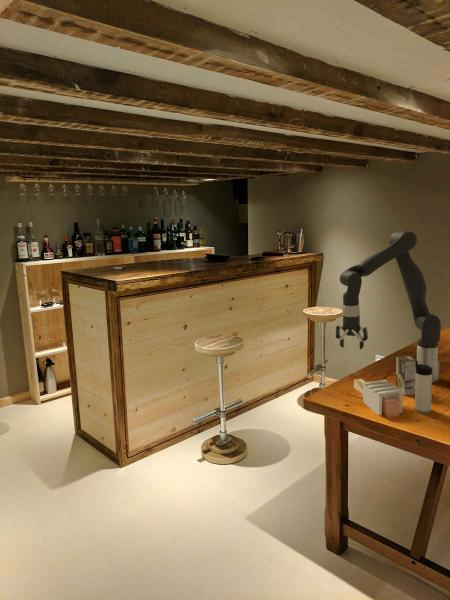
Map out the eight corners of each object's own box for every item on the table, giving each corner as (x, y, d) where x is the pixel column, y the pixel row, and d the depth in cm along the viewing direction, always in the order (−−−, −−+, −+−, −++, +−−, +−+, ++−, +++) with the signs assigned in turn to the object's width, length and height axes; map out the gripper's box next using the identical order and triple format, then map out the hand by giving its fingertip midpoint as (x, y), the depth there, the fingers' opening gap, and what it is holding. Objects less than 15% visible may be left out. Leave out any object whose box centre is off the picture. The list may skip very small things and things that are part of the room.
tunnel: (384, 399, 202) (384, 379, 200) (402, 412, 189) (402, 391, 187) (363, 402, 201) (363, 382, 199) (379, 415, 187) (379, 394, 185)
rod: (360, 387, 218) (360, 378, 217) (388, 409, 193) (388, 400, 192) (353, 388, 217) (353, 379, 216) (380, 410, 192) (380, 401, 191)
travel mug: (411, 408, 192) (412, 363, 188) (426, 406, 193) (427, 362, 189) (418, 414, 186) (419, 368, 182) (434, 412, 186) (435, 367, 183)
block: (392, 410, 191) (393, 397, 190) (399, 415, 186) (399, 402, 185) (382, 412, 190) (382, 399, 189) (388, 417, 185) (388, 403, 184)
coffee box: (417, 394, 205) (418, 360, 202) (404, 395, 205) (404, 361, 202) (408, 387, 214) (409, 354, 211) (395, 388, 214) (395, 355, 211)
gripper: (369, 313, 206) (369, 347, 209) (338, 311, 213) (339, 344, 216) (364, 317, 200) (365, 352, 203) (333, 315, 207) (334, 349, 210)
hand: (351, 348), depth 210 cm, fingers open, 8 cm apart
